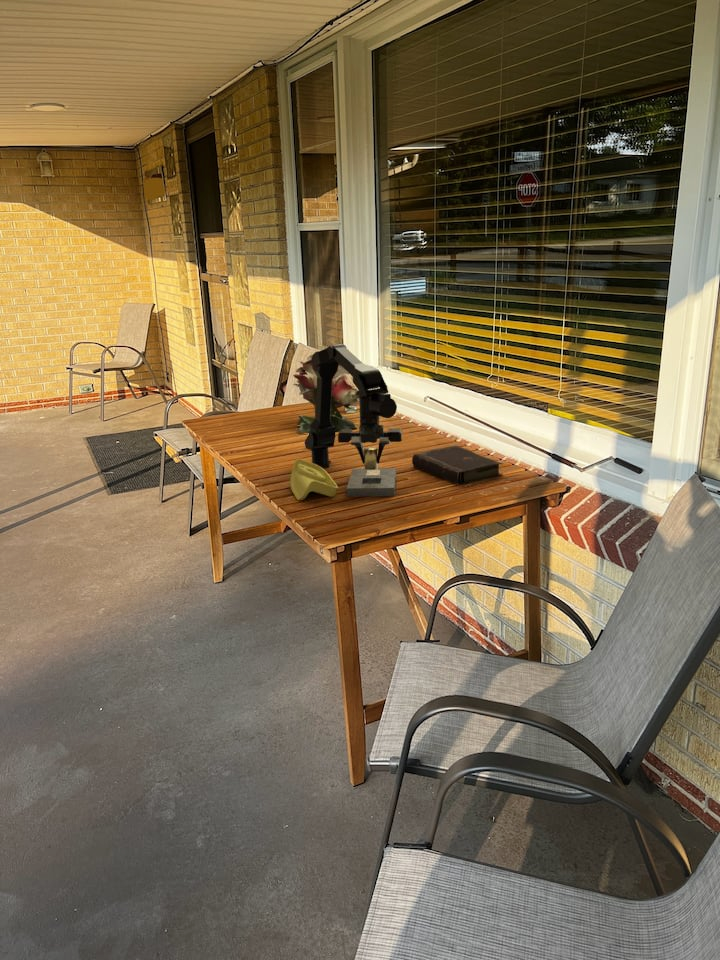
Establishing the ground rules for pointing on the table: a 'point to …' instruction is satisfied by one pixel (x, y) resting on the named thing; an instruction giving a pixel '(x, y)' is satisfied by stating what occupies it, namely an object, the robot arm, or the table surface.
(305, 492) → the plastic component
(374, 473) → the flange plate
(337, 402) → the rose bouquet
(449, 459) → the diary
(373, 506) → the table surface
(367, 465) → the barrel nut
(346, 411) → the pneumatic valve
